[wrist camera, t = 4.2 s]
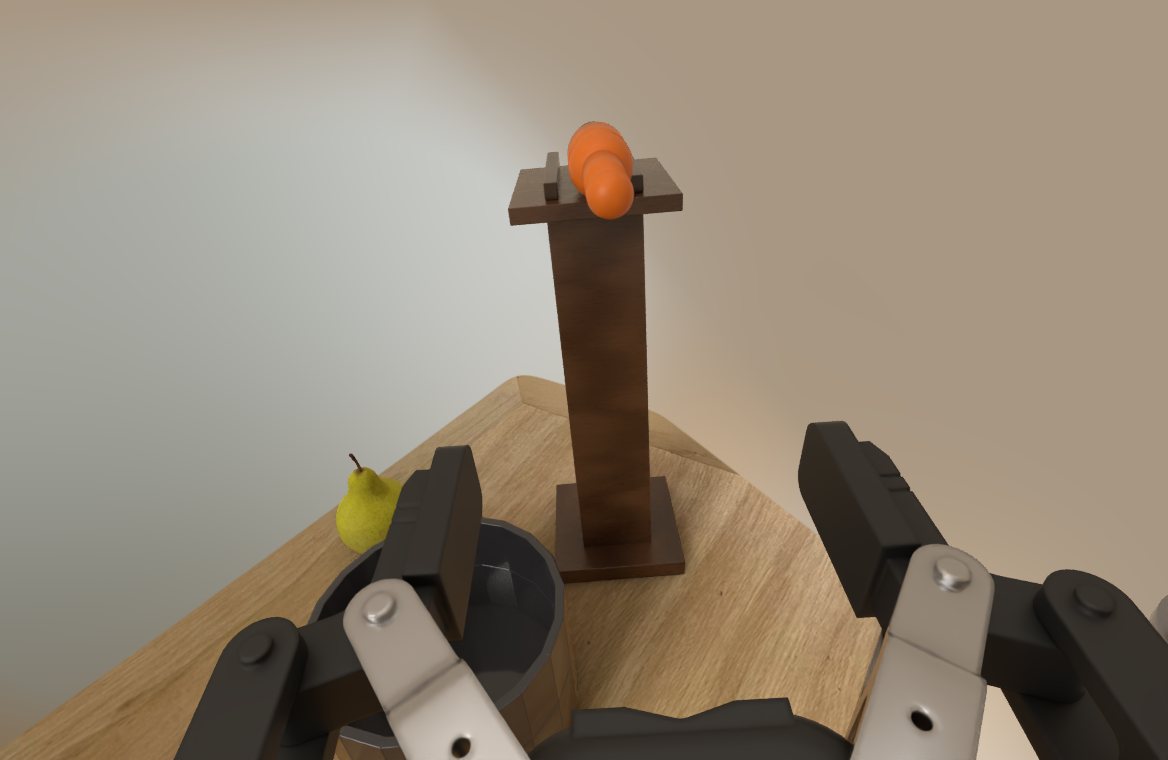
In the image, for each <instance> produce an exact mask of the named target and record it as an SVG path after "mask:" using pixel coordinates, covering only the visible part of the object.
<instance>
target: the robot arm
mask: <svg viewBox="0 0 1168 760" xmlns="http://www.w3.org/2000/svg"><path fill="white" fill-rule="evenodd" d="M798 482H799V488H800V492H801V495H802V498H803V500H804V502H805V504H806V506H807V509H808V511H809V513H810V515H811V517H812V520H813V522H814V524H815V526H816V528H817V531H818V533H819V535H820V537H821V540H822V542H823V544H824V546H825V548H826V551H827V553H828V555H829V557H830V560H831V562H832V564H833V566H834V568H835V571H836V573H837V575H838V577H839V579H840V582H841V584H842V586H843V588H844V591H845V593H846V595H847V597H848V599H849V602H850V604H851V606H852V608H853V610H854V613H855V615H856V617H857V618H865V617H876V618H877V620H878V622H879V624H880V626H881V628H882V629H881V632H880V634H879V637H878V640H877V643H876V646H875V649H874V652H873V655H872V658H871V661H870V665H869V668H868V671H867V674H866V677H865V680H864V683H863V686H862V689H861V692H860V695H859V698H858V702H857V705H856V708H855V710H854V713H853V716H852V719H851V721H850V724H849V727H848V730H847V732H846V735H845V738H844V737H842V736H841V735H839V734H838V733H836V732H834V731H833V730H831V729H829V728H828V727H826V726H824V725H822V724H819V723H817V722H815V721H813V720H810V719H807V718H804V717H801V716H797V715H793V713H792V709H791V706H790V703H789V699H788V697H787V698H770V699H753V700H736V701H732V702H729V703H726V704H724V705H721V706H718V707H715V708H712V709H710V710H707V711H704V712H701V713H699V714H696V715H693V716H690V717H687V718H682V719H679V718H673V717H668V716H663V715H659V714H654V713H650V712H645V711H640V710H636V709H631V708H626V707H618V708H601V709H584V710H572V726H571V727H569V728H566V729H563V730H561V731H559V732H557V733H555V734H553V735H551V736H550V737H548V738H547V739H545V740H544V741H542V742H541V743H540V744H538V745H537V746H536V747H535V748H534V749H533V750H531V751H530V752H529V753H528V754H526V752H525V751H524V749H523V748H522V746H521V745H520V743H519V742H518V740H517V739H516V737H515V736H514V734H513V733H512V731H511V729H510V728H509V726H508V725H507V723H506V722H505V720H504V719H503V717H502V716H501V714H500V713H499V711H498V710H497V708H496V707H495V705H494V704H493V702H492V701H491V699H490V697H489V696H488V694H487V693H486V691H485V690H484V688H483V687H482V685H481V684H480V682H479V681H478V679H477V678H476V676H475V675H474V673H473V672H472V670H471V669H470V667H469V666H468V664H467V663H466V662H465V661H464V660H463V659H462V658H461V659H459V658H458V656H457V655H456V654H455V652H454V651H453V649H452V647H451V646H450V644H449V643H448V641H462V639H463V633H464V627H465V620H466V614H467V607H468V601H469V595H470V588H471V582H472V575H473V569H474V563H475V556H476V550H477V544H478V537H479V531H480V524H481V518H482V493H481V488H480V483H479V479H478V475H477V471H476V467H475V463H474V459H473V455H472V451H471V448H470V446H469V445H463V446H448V447H438V448H437V449H436V451H435V454H434V457H433V461H432V465H431V468H430V470H416V471H415V472H414V473H413V474H412V476H411V477H410V478H409V479H408V480H407V482H406V483H405V484H404V485H403V486H402V489H401V492H400V495H399V498H398V501H397V504H396V509H395V510H394V513H393V517H392V520H391V521H392V523H391V524H390V526H389V529H388V532H387V535H386V538H385V541H384V545H383V548H382V551H381V554H380V557H379V560H378V563H377V566H376V569H375V573H374V576H373V579H372V581H371V583H370V585H368V586H366V587H365V588H363V589H362V590H361V591H360V592H358V593H357V594H356V595H355V596H354V597H353V599H352V600H351V601H350V603H349V604H348V606H347V608H346V610H344V611H342V612H340V613H338V614H336V615H333V616H331V617H328V618H325V619H322V620H320V621H317V622H314V623H311V624H308V625H305V626H303V627H300V628H296V626H295V625H294V624H293V622H291V621H290V620H288V619H285V618H281V617H271V618H266V619H263V620H260V621H257V622H255V623H253V624H251V625H249V626H247V627H246V628H244V629H243V630H242V631H240V632H239V633H238V634H237V635H236V636H235V637H233V638H232V640H231V641H230V642H229V643H228V644H227V646H226V647H225V648H224V650H223V652H222V654H221V655H220V657H219V660H218V662H217V664H216V666H215V669H214V671H213V673H212V675H211V678H210V680H209V682H208V684H207V687H206V689H205V691H204V693H203V695H202V698H201V700H200V702H199V704H198V707H197V709H196V711H195V713H194V716H193V718H192V720H191V722H190V724H189V727H188V729H187V731H186V733H185V736H184V738H183V740H182V742H181V745H180V747H179V749H178V751H177V753H176V756H175V758H174V760H333V758H334V754H335V750H336V746H337V742H338V738H339V734H340V730H341V727H343V726H346V725H348V724H351V723H353V722H356V721H358V720H361V719H363V718H366V717H368V716H371V715H373V714H376V713H378V712H380V711H383V710H384V712H385V715H386V718H387V720H388V722H389V724H390V726H391V728H392V730H393V732H394V734H395V736H396V738H397V741H398V743H399V745H400V747H401V749H402V751H403V753H404V755H405V757H406V759H407V760H976V756H977V750H978V743H979V738H980V731H981V725H982V718H983V712H984V706H985V699H986V693H987V685H990V686H994V687H998V688H1001V690H1002V692H1003V694H1004V696H1005V697H1006V699H1007V701H1008V703H1009V705H1010V707H1011V708H1012V710H1013V712H1014V714H1015V716H1016V718H1017V719H1018V721H1019V723H1020V725H1021V727H1022V729H1023V730H1024V732H1025V734H1026V736H1027V738H1028V740H1029V741H1030V743H1031V745H1032V747H1033V749H1034V750H1035V752H1036V754H1037V756H1038V758H1039V760H1168V643H1167V642H1166V641H1165V640H1164V639H1163V637H1162V636H1161V635H1160V634H1159V633H1158V631H1157V630H1156V629H1155V628H1154V627H1153V625H1152V624H1151V623H1150V622H1149V621H1148V620H1147V618H1146V617H1145V616H1144V615H1143V613H1142V612H1141V611H1140V610H1139V609H1138V607H1137V606H1136V605H1135V604H1134V602H1133V601H1132V600H1131V599H1130V598H1129V597H1128V596H1127V595H1126V594H1125V593H1123V592H1122V591H1121V590H1120V589H1118V588H1117V587H1116V586H1114V585H1113V584H1111V583H1109V582H1107V581H1106V580H1104V579H1102V578H1099V577H1097V576H1095V575H1092V574H1090V573H1086V572H1082V571H1077V570H1067V569H1066V570H1059V571H1055V572H1053V573H1051V574H1050V575H1049V576H1048V577H1047V578H1046V580H1045V581H1044V583H1043V584H1037V583H1032V582H1028V581H1022V580H1017V579H1013V578H1007V577H1003V576H998V575H994V574H991V573H989V572H988V570H987V569H986V568H985V567H984V566H983V565H982V564H981V563H980V562H979V561H978V560H977V559H975V558H973V556H971V555H969V554H968V553H966V552H964V551H962V550H960V549H957V548H954V547H951V546H949V545H948V544H947V542H946V541H945V539H944V538H943V536H942V535H941V533H940V532H939V530H938V529H937V527H936V526H935V524H934V523H933V521H932V520H931V518H930V517H929V515H928V514H927V512H926V511H925V509H924V508H923V506H922V505H921V503H920V502H919V500H918V499H917V497H916V496H915V495H914V493H913V492H912V491H910V487H909V485H908V484H907V482H906V481H905V479H904V478H903V477H901V476H900V472H899V470H898V469H897V468H896V466H895V465H894V463H893V462H892V460H891V459H890V457H889V456H888V455H887V454H886V453H884V452H883V451H881V450H880V449H879V448H878V447H876V446H875V445H874V444H873V443H871V442H870V441H865V442H858V440H857V439H856V437H855V436H854V434H853V432H852V431H851V429H850V427H849V426H848V424H847V423H846V422H844V421H832V422H818V423H810V424H809V425H808V427H807V430H806V435H805V440H804V445H803V449H802V455H801V459H800V465H799V469H798Z"/></svg>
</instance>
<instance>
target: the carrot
mask: <svg viewBox="0 0 1168 760" xmlns="http://www.w3.org/2000/svg"><path fill="white" fill-rule="evenodd" d="M568 167H569V175H570V178H571V180H572V183H573V184H574V186H575V187H576V189H577V190H578V191H579V192H580V193H581V194H583V195H584V196H586V200H587V204H588V206H589V208H590V209H591V211H592V212H593V213H594V214H595V215H597V216H598V217H600V218H603V219H616V218H619V217H621V216H622V215H624V214H625V213H626V212H627V211H628V210H629V209H630V207H631V205H632V202H633V198H634V189H633V185H632V183H631V181H630V180H631V177H632V174H633V158H632V154H631V151H630V149H629V147H628V146H627V144H626V142H625V141H624V139H623V138H622V136H621V135H620V133H619V132H618V131H617V130H616V129H615V128H614V127H613V126H611V125H609V124H607V123H603V122H588V123H585V124H584V125H582V126H581V127H580V128H579V129H578V130H577V131H576V132H575V133H574V135H573V136H572V138H571V140H570V143H569V146H568Z"/></svg>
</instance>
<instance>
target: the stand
mask: <svg viewBox="0 0 1168 760" xmlns="http://www.w3.org/2000/svg"><path fill="white" fill-rule="evenodd" d="M632 158H633V156H632ZM630 181H631V183H632V185H633V189H634V198H633V202H632V205H631V207H630V209H629V210H628V211H627V212H626V213H625V214H624V215H622V216H621V217H619V218H616V219H603V218H600V217H598V216H597V215H595V214H594V213H593V212H592V211H591V209H590V208H589V206H588V204H587V200H586V196H584V195H583V194H581V193H580V192H579V191H578V190H577V189H576V187H575V186H574V184H573V183H572V180H571V178H570V175H569V167H568V166H560V164H559V154H558V152H551V153H548V154H547V161H546V167H545V168H534V169H523V170H521V171H520V174H519V177H518V180H517V183H516V186H515V189H514V192H513V195H512V199H511V202H510V205H509V208H508V212H509V218H510V225H511V226H513V225H524V224H536V223H547V224H548V234H549V243H550V252H551V260H552V269H553V279H554V287H555V295H556V304H557V314H558V323H559V332H560V341H561V350H562V358H563V366H564V376H565V385H566V394H567V403H568V412H569V421H570V430H571V439H572V448H573V456H574V465H575V474H576V483H574V484H561V485H557V494H556V553H555V562H556V565H557V567H558V570H559V572H560V575H561V577H562V579H563V582H564V583H570V582H583V581H596V580H609V579H622V578H635V577H648V576H661V575H673V574H684V573H685V561H684V556H683V552H682V548H681V543H680V539H679V534H678V530H677V526H676V521H675V517H674V512H673V508H672V504H671V499H670V495H669V491H668V486H667V482H666V477H665V476H662V477H650V465H649V425H648V388H647V387H648V386H647V348H646V347H647V345H646V307H645V267H644V266H645V265H644V228H643V227H644V225H643V214H650V213H662V212H673V211H682V209H683V193H682V192H681V191H680V189H679V188H678V187H677V185H676V184H675V183H674V181H673V180H672V179H671V177H670V176H669V174H668V173H667V172H666V170H665V169H664V168H663V166H662V165H661V164H660V162H659V161H658V160H657V158H648V159H637V160H634V158H633V174H632V177H631V180H630Z"/></svg>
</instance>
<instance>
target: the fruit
mask: <svg viewBox="0 0 1168 760" xmlns="http://www.w3.org/2000/svg"><path fill="white" fill-rule="evenodd" d="M349 456H350V457H351V458H352V460H353V461H354V462H355V463H356V465H357V467H358V469H356V470H354V471H353V472H352V473H351V475H350V477H349V479H348V487H349V490H348V493H347V494H346V495H345V496H344V497H343V499H342V501H341V502H340V504H339V506H338V510H337V515H336V524H337V529H338V532H339V535H340V537H341V540H342V541H343V542H344V543H345V544H346V545H347V546H348V547H349V548H351V549H352V550H354V551H356V552H358V553H360V554H363V553H364V552H366V551H367V550H368V549H369V548H371V547H372V546H374V545H376V544H377V543H379V542H381V541H383V540H385V538H386V535H387V532H388V529H389V526H390V524H391V523H392V521H391V520H392V517H393V513H394V510H395V509H396V504H397V501H398V498H399V495H400V492H401V489H402V486H403V485H402V484H401V483H400V482H398V481H396V480H393V479H391V478H385V477H378V475H377V474H376V473H375V472H374V471H373V470H372V469H370V468H366V467H362V468H361V467H360V465H359V463H358V462H357V460H356V459H355V457H354V456H353V454H349Z"/></svg>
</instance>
